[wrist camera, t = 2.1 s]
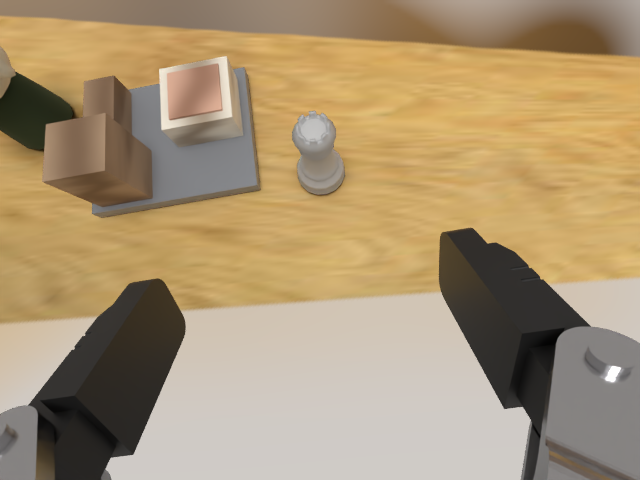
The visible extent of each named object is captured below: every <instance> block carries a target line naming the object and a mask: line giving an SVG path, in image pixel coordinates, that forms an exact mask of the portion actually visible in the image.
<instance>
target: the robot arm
mask: <svg viewBox="0 0 640 480" xmlns="http://www.w3.org/2000/svg"><path fill="white" fill-rule="evenodd" d="M439 284H440V288H441V292H442V295H443V297H444V299H445V301H446V303H447V305H448V307H449V308H450V310H451V312H452V314H453V316H454V318H455V320H456V321H457V323H458V325H459V327H460V329H461V330H462V332H463V334H464V336H465V338H466V340H467V342H468V343H469V345H470V347H471V349H472V351H473V352H474V354H475V356H476V358H477V360H478V362H479V363H480V365H481V367H482V369H483V371H484V373H485V374H486V376H487V378H488V380H489V382H490V384H491V385H492V387H493V389H494V391H495V393H496V395H497V396H498V398H499V400H500V402H501V404H502V406H503V407H504V409H507V408H515V407H523V408H524V409H525V411H526V413H527V414H528V416H529V417H530V419H531V422H530V426H529V431H528V438H527V444H526V450H525V457H524V463H523V470H522V476H521V480H640V343H638V342H637V341H635V340H633V339H631V338H629V337H627V336H625V335H622V334H620V333H617V332H614V331H611V330H608V329H603V328H598V327H591V326H590V325H589V324H588V323H587V322H586V321H585V320H584V319H583V318H582V317H581V316H580V315H579V314H578V313H577V312H576V311H574V310H573V308H572V307H570V306H569V305H568V304H567V303H566V302H565V301H564V300H563V299H562V298H561V297H560V296H559V295H558V294H557V293H556V292H555V291H554V290H553V289H552V288H551V287H550V286H549V285H548V284H547V283H546V282H545V281H544V280H541V279H540V276H539V275H538V274H537V273H536V272H535V271H534V270H533V269H532V268H529V267H528V264H527V263H526V262H525V261H523V260H522V259H521V258H520V257H519V256H518V255H517V254H516V253H515V252H514V251H512V250H510V249H508V248H506V247H504V246H502V245H500V244H498V243H489V244H487V243H486V242H485V241H484V239H483V238H482V237H481V236H480V235H479V234H478V233H477V232H476V231H475V230H474V229H473V228H466V229H460V230H454V231H448V232H443V233H442V234H441V236H440V254H439ZM85 334H86V335H85V336H82V338H81V339H80V340H79V342H78V343H77V344H76V345H75V350H71V352H70V353H69V354H68V356H67V357H66V358H65V359H64V361H63V362H62V363H61V365H60V366H59V367H58V368H57V370H56V371H55V372H54V373H53V375H52V376H51V377H50V378H49V380H48V381H47V382H46V383H45V385H44V386H43V387H42V389H41V390H40V391H39V392H38V394H37V395H36V396H35V398H34V399H33V400H32V401H31V403H30V404H29V405H28V406H19V407H16V408H12V409H10V410H7V411H5V412H3V413H1V414H0V480H111V477H110V474H109V473H108V471H106V470H105V468H106V466H107V464H108V462H109V460H110V458H111V457H119V456H127V455H133V454H134V452H135V450H136V447H137V445H138V443H139V440H140V438H141V435H142V433H143V431H144V429H145V426H146V424H147V422H148V419H149V417H150V414H151V412H152V410H153V408H154V406H155V403H156V401H157V398H158V396H159V394H160V391H161V389H162V387H163V384H164V382H165V380H166V378H167V375H168V373H169V371H170V368H171V366H172V363H173V361H174V359H175V357H176V355H177V352H178V350H179V348H180V345H181V343H182V341H183V338H184V335H185V320H184V317H183V315H182V313H181V311H180V309H179V307H178V306H177V304H176V302H175V300H174V298H173V297H172V295H171V293H170V291H169V289H168V288H167V286H166V284H165V283H164V282H163V281H162V280H161V279H151V280H145V281H139V282H133V283H130V284H129V285H128V286H127V287H126V288H125V290H124V291H123V292H122V293H121V295H120V296H119V297H118V299H117V300H116V301H115V303H114V304H113V305H112V306H111V307H109V308H108V309H107V310H106V311H105V312H103V313H102V314H101V315H100V316H99V317H97V319H96V320H95V321H94V323H93V324H92V325H91V326H90V328H89V329H88V330H87V331H86V333H85Z"/></svg>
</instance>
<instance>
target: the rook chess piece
mask: <svg viewBox="0 0 640 480" xmlns="http://www.w3.org/2000/svg"><path fill="white" fill-rule="evenodd" d="M335 138H336V128H335V126H334V124H333V122H332V121H331V120H329V119H328V118H327V116H326V115H324V114H323V113H321V115H318V114H317V115H316V111H309V115H308V116H306V117H304V115H303V114H302V115H301V116H300V117H299V118H298V122H297V123H296V124H295V127H294V129H293V131H292V140H293V142H294V144H295V146H296V147H297V148H298V149H299V151H300V153H301V157H300V159H299V162H298V164H297V174H298V179H299V181H300V183H301V185H302V187H304V188H305V189H306V190H307V191H308V192H311V193H314V194H317V195H319V194H328V193H330V192H332V191H334V190H336V189H337V188H338V187H339V186H340V185H341V184H342V181H343V178H344V176H345V171H344V164H343V161H342V159H341V157H340V155H339V153H337V152H336V151H335V150H334V149H333V148H334V140H335Z"/></svg>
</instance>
